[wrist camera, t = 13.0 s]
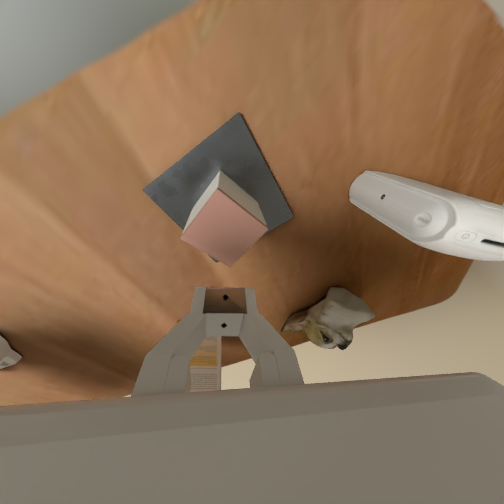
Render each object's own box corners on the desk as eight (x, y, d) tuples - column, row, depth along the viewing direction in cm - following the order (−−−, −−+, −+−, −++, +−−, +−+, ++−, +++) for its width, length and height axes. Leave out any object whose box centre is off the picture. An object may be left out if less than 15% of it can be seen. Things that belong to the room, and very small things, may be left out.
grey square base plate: (216, 260, 25) (214, 293, 20) (144, 188, 19) (115, 210, 14) (292, 215, 23) (310, 240, 18) (238, 112, 16) (244, 107, 11)
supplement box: (174, 334, 34) (151, 428, 24) (177, 319, 32) (152, 416, 21) (217, 337, 37) (213, 424, 26) (223, 323, 34) (221, 413, 24)
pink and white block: (229, 233, 22) (230, 267, 17) (192, 208, 20) (180, 238, 15) (257, 201, 21) (268, 229, 15) (220, 170, 18) (217, 189, 13)
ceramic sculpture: (404, 334, 26) (329, 372, 33) (369, 288, 33) (313, 328, 40) (357, 317, 22) (284, 364, 30) (328, 269, 29) (275, 317, 36)
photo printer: (340, 202, 22) (433, 265, 12) (359, 164, 20) (493, 205, 10) (405, 215, 25) (528, 277, 15) (429, 183, 22) (595, 231, 12)
